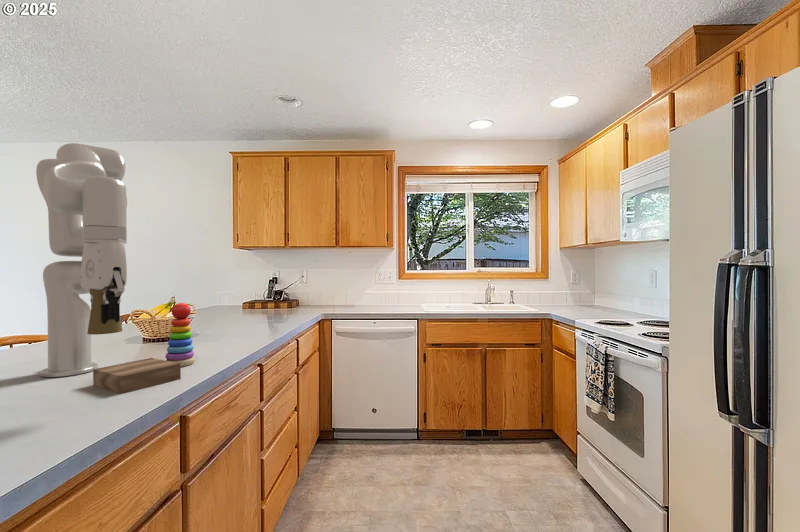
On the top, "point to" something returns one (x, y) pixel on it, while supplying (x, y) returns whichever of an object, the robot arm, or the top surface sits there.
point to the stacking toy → (180, 337)
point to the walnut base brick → (136, 375)
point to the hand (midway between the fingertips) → (105, 321)
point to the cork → (95, 316)
